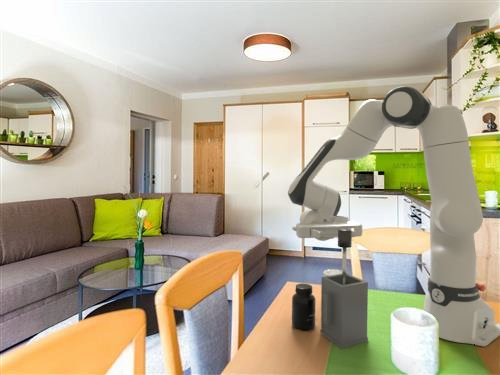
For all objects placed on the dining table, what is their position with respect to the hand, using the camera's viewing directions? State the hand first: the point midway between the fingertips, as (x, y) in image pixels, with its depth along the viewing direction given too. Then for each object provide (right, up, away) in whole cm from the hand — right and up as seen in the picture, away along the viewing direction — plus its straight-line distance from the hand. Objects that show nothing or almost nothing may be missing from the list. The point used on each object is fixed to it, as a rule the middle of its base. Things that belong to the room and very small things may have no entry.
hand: (337, 234), depth 94 cm
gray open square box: (+1, -27, -4) cm, 28 cm away
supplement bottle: (-9, -27, +2) cm, 29 cm away
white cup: (+5, -26, +21) cm, 34 cm away
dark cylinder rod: (+1, -15, -5) cm, 16 cm away
